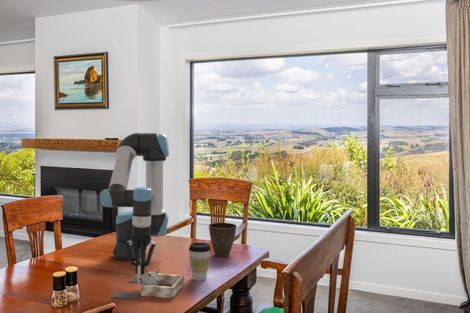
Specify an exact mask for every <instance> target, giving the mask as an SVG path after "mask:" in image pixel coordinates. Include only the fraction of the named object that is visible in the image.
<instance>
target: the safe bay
mask: <svg viewBox="0 0 470 313" xmlns="http://www.w3.org/2000/svg"><path fill="white" fill-rule="evenodd" d="M158 276H159V280H160V281H161V282H160V283H159V284H158V286H153V285H142V284H141V286H140V288H141V289H140V293H141V295H140V297H151V296H154V298H155V297H156V298H168V299H174V298H176V296H177V294H178V293H179V292H180V290H181V289H182V288H183V286H184V285H185V284H184V283H185V276H184V275H182V274H170V273H169V274H168V273H158ZM166 285H170V286H166Z"/></svg>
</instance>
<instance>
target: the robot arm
mask: <svg viewBox="0 0 470 313" xmlns="http://www.w3.org/2000/svg"><path fill="white" fill-rule="evenodd" d="M169 150H170V149H169V140H168V137H167V135H166V134H165V133H160V132H149V133H147V132H143V133H142V132H134V133H132V134H128V135H127V136H125V137H124V138H123V139H122V140H121V141H120V142H119V144H118V145H117V147H116V150H115V155H116V159H115V163H114V167H113V170H112V175H111V178H110V182H109V186H108V188H105V189H103V190H102V191H101V193H100V204H101V205H102V207H105V208H132V210H130V211H125V212H124V211H123V212H120V213H118V214H117V215H116V221H115V244H114V247H113V250H112V259H114V260H116V261H117V260H118V261H130V264H131V266H134V267H135V275H136V277H137V283H136V284H142V283H141V280H139V279H142V277H143V276H144V274H145V273H146V267H148V266H149V265H150V263H151V261H152V257H153V254H154V250H155V247H156V246H157V243H156V242H154V241H152V238H153V237H155V238H159V237H165V236H166V235H167V231H168V230H167V229H168V224H169V217H170V215H169V213H167V211H166V209H165V208H164V163H165V161H166V160H167V157H169V156H170V151H169ZM136 157H142V160H143V162H145V186H144V187H135V188H134V189H128V185H129V184H128V183H129V179H130V175H131V169H132V164H133V161H134V160H135V158H136ZM148 246H149V248H148V252H147V247H148Z"/></svg>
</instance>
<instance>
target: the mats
mask: <svg viewBox="0 0 470 313" xmlns="http://www.w3.org/2000/svg"><path fill="white" fill-rule="evenodd" d="M128 283H134V284H135V283H136V284H138V283H137V276H133V278H131V279H130V280H128ZM140 284H142V282H141V283H140ZM139 297H141V292H129V291H128V292H126V291H125V292H124V291H116V292H115V293H114V294H113V295H112V296H111V297H110V298H111V299H121V300H134V301H136V300H138V299H139Z"/></svg>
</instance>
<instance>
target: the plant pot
mask: <svg viewBox="0 0 470 313" xmlns="http://www.w3.org/2000/svg"><path fill="white" fill-rule="evenodd" d="M237 226H238V225H236V224H234V223H229V222H214V223H210V224H209V225H208V229H209V231H208V232H209V236H210V242H211V247H212V249H213V253H214V255H215V256H216V257H219V258H220V257H223V258H224V257H228V256H230V253H231V250H232V247H233V245H234V241H235V237H236V233H237V231H236V230H237Z"/></svg>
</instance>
